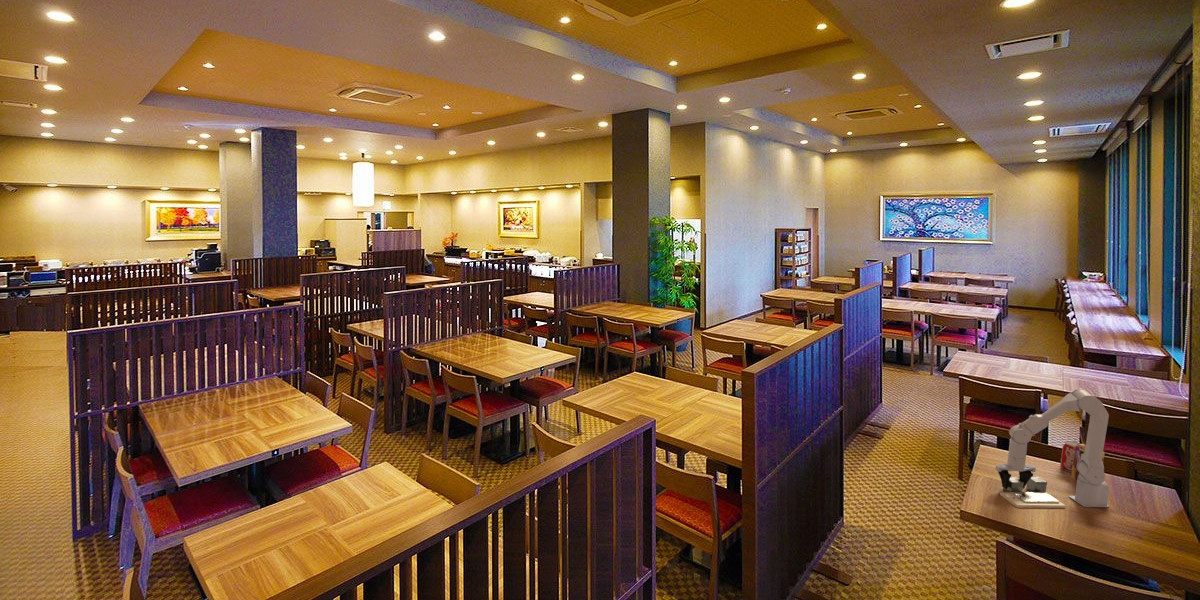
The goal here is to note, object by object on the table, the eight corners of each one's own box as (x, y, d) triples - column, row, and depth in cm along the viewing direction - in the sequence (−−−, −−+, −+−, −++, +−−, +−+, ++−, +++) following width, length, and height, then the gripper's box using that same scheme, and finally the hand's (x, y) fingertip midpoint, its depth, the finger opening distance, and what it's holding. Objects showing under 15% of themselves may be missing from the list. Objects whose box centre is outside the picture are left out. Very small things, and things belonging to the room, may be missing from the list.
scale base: (1045, 495, 233) (1046, 491, 233) (1065, 507, 223) (1065, 504, 223) (999, 494, 234) (1000, 491, 233) (1017, 507, 224) (1017, 504, 223)
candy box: (1100, 487, 239) (1105, 452, 237) (1091, 488, 238) (1097, 453, 236) (1078, 477, 248) (1083, 443, 245) (1070, 478, 247) (1075, 444, 244)
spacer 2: (1037, 488, 239) (1038, 476, 238) (1045, 493, 234) (1047, 481, 234) (1026, 488, 239) (1027, 476, 238) (1034, 493, 235) (1035, 481, 234)
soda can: (1084, 474, 251) (1088, 447, 249) (1065, 472, 252) (1069, 446, 250) (1074, 467, 258) (1078, 441, 256) (1056, 465, 259) (1059, 439, 257)
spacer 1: (1014, 488, 239) (1016, 477, 238) (1022, 494, 234) (1023, 482, 233) (1003, 488, 239) (1004, 477, 238) (1010, 494, 234) (1012, 482, 233)
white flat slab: (1045, 493, 232) (1045, 492, 232) (1059, 502, 225) (1059, 501, 225) (1012, 493, 232) (1012, 491, 232) (1024, 502, 225) (1025, 501, 225)
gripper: (1028, 451, 238) (1024, 483, 240) (992, 451, 238) (988, 482, 240) (1041, 459, 231) (1036, 491, 233) (1003, 459, 231) (999, 491, 233)
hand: (1013, 487), depth 236 cm, fingers open, 6 cm apart
